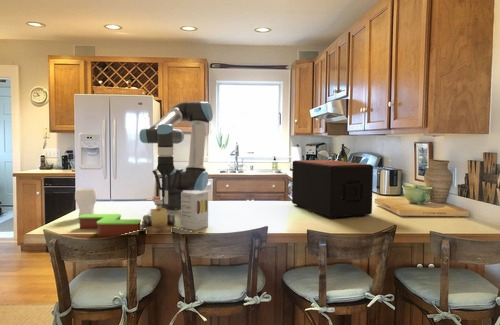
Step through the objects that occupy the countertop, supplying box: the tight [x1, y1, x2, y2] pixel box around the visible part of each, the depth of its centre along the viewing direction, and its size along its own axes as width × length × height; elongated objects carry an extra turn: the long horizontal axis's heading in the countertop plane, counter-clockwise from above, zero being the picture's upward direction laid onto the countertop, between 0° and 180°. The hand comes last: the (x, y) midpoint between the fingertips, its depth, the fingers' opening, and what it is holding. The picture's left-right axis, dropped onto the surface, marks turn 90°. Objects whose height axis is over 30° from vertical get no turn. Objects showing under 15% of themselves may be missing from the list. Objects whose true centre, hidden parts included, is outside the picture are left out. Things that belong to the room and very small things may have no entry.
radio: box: [291, 159, 374, 220], centre depth 211 cm, size 45×27×28 cm, turn 20°
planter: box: [78, 213, 142, 237], centre depth 165 cm, size 30×18×6 cm, turn 93°
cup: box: [74, 187, 98, 220], centre depth 190 cm, size 11×11×15 cm
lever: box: [152, 196, 163, 206], centre depth 174 cm, size 14×4×2 cm, turn 21°
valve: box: [142, 205, 176, 227], centre depth 169 cm, size 14×6×10 cm, turn 110°
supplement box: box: [180, 190, 209, 231], centre depth 171 cm, size 10×9×17 cm
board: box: [141, 220, 177, 235], centre depth 170 cm, size 14×20×2 cm
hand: (166, 203), depth 180 cm, fingers closed
